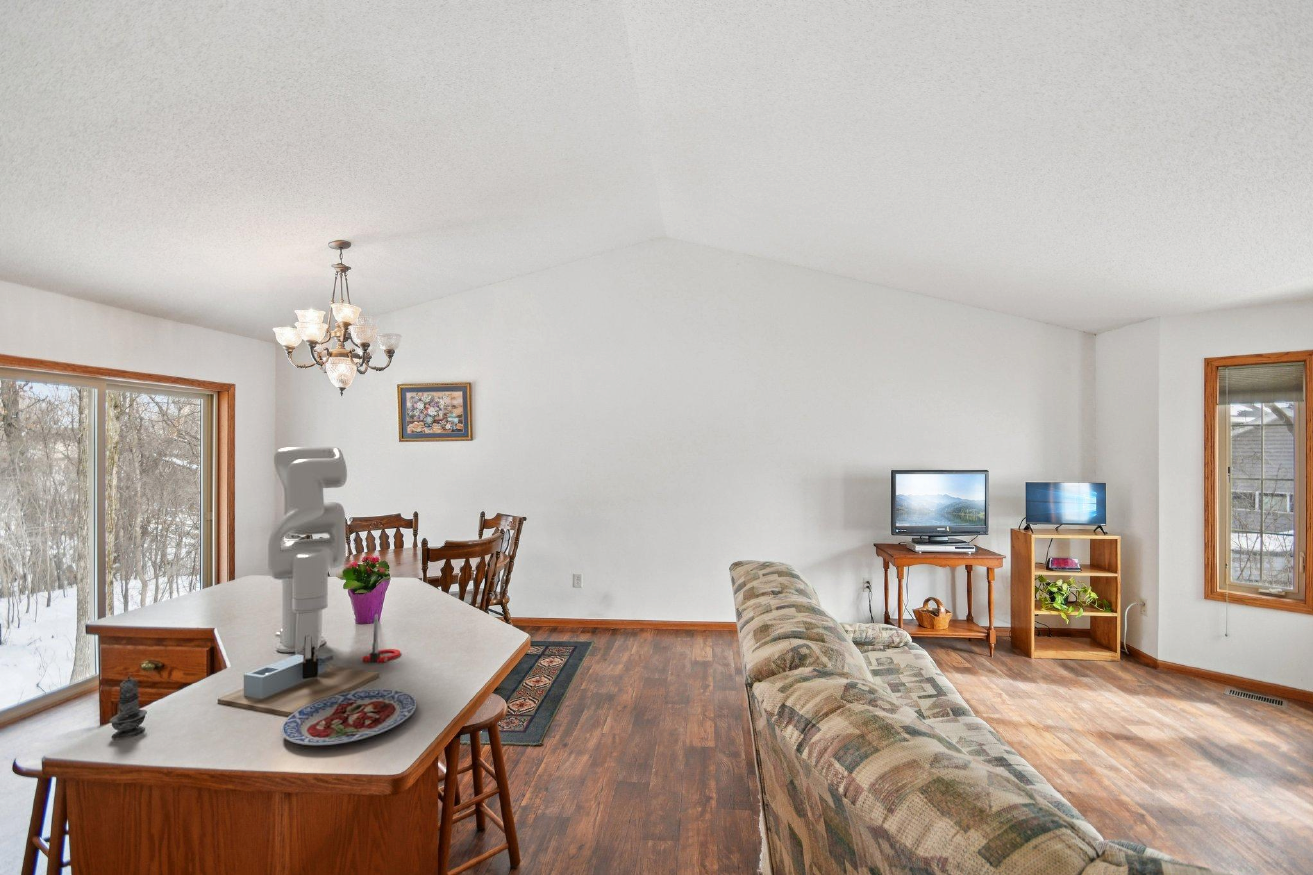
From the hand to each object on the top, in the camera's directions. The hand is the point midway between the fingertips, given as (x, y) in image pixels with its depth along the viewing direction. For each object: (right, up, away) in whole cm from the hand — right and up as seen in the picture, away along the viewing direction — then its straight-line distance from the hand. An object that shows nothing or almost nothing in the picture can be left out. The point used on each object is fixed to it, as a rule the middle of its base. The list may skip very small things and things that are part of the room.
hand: (310, 676), depth 146 cm
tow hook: (+9, -3, +21) cm, 22 cm away
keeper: (-4, -2, +8) cm, 9 cm away
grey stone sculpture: (-24, -3, -23) cm, 34 cm away
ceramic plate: (+20, -2, -19) cm, 28 cm away
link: (-6, -2, 0) cm, 6 cm away
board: (-1, -2, -2) cm, 3 cm away
